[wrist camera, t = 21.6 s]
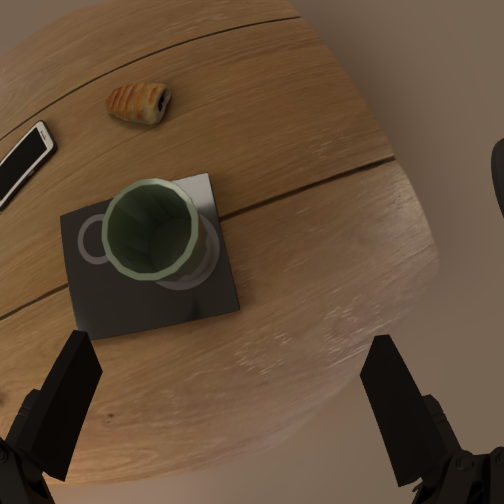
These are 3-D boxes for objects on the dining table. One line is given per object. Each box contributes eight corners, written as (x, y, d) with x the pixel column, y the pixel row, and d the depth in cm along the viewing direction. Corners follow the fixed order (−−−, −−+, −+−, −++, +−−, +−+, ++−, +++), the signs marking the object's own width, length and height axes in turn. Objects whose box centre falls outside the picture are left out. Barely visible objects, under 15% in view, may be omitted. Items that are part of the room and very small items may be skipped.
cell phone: (-12, 182, 34) (-16, 181, 33) (44, 120, 35) (41, 117, 34) (-1, 214, 33) (-5, 213, 32) (59, 147, 35) (56, 145, 34)
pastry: (102, 124, 36) (92, 111, 32) (118, 87, 37) (111, 73, 33) (160, 128, 36) (154, 113, 32) (175, 90, 37) (171, 73, 33)
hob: (209, 177, 36) (207, 171, 33) (240, 308, 34) (240, 310, 32) (67, 219, 34) (58, 215, 32) (87, 339, 33) (79, 342, 30)
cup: (222, 229, 33) (214, 198, 21) (197, 293, 32) (174, 296, 20) (162, 206, 33) (127, 166, 21) (137, 267, 32) (87, 256, 20)
